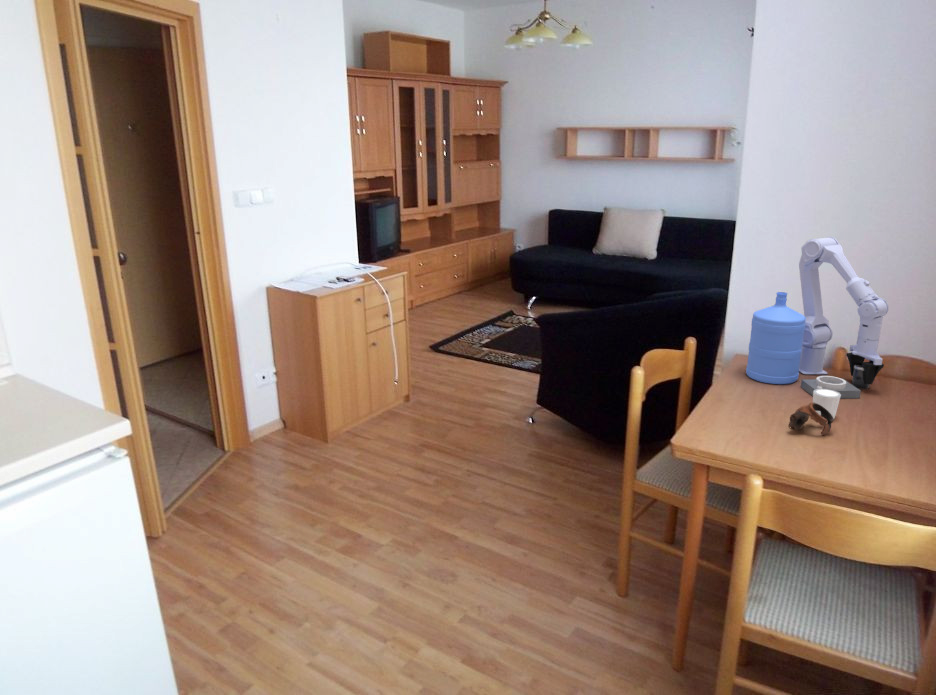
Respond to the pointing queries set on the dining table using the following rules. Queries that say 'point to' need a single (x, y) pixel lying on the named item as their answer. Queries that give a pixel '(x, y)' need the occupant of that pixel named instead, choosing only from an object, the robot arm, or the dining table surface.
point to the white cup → (827, 400)
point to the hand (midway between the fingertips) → (861, 379)
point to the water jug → (776, 343)
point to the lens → (859, 377)
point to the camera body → (831, 386)
